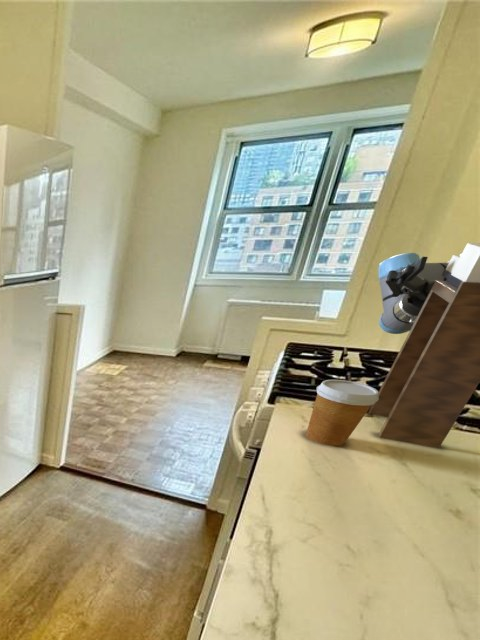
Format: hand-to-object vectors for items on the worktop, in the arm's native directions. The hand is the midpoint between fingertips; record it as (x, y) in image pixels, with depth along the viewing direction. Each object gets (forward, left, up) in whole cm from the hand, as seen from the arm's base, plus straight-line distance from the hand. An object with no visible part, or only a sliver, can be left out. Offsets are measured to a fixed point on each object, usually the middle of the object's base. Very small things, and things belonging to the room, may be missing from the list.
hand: (469, 264), depth 99 cm
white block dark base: (0, +5, -3) cm, 5 cm away
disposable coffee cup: (+14, +27, -33) cm, 45 cm away
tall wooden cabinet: (0, +12, -33) cm, 35 cm away
